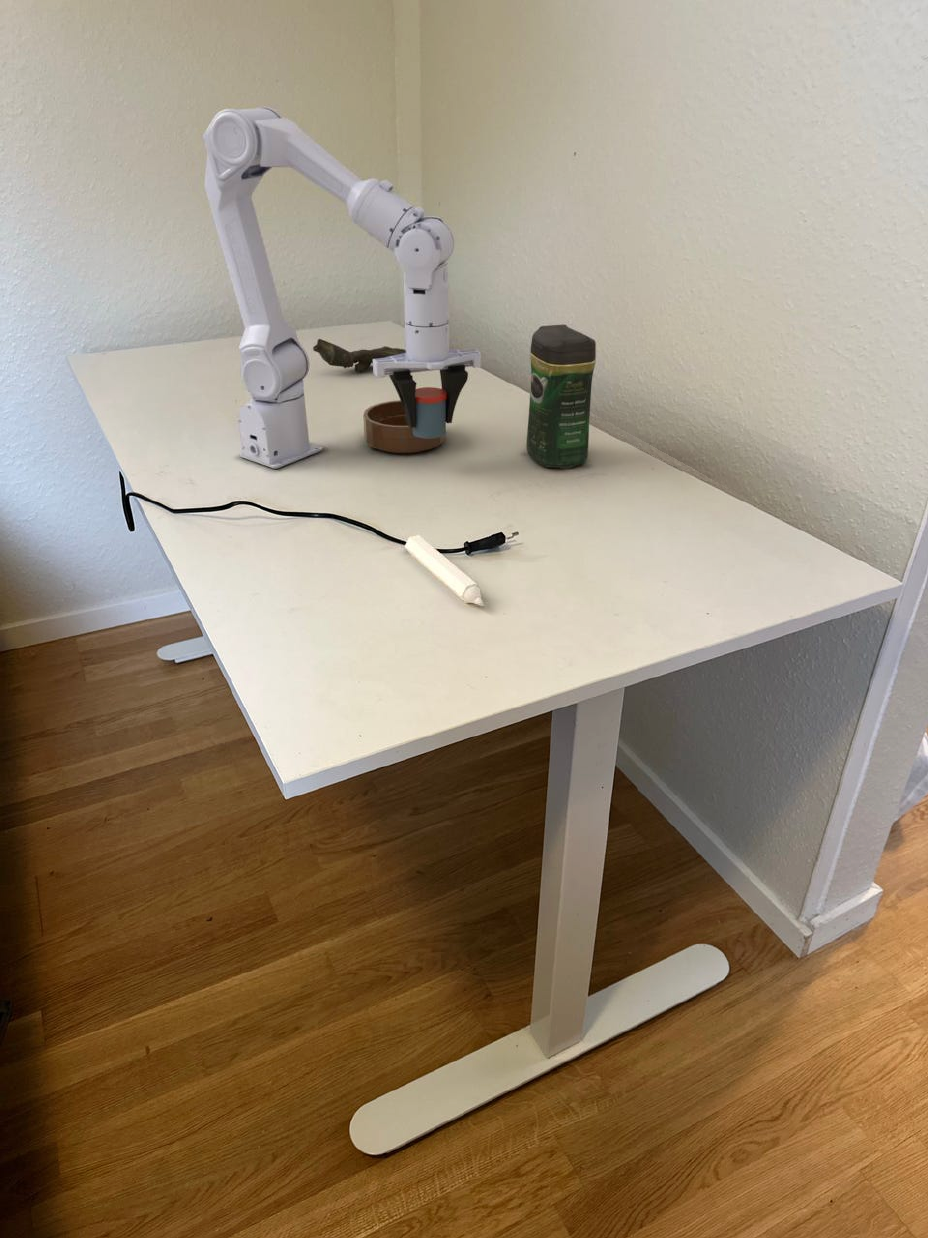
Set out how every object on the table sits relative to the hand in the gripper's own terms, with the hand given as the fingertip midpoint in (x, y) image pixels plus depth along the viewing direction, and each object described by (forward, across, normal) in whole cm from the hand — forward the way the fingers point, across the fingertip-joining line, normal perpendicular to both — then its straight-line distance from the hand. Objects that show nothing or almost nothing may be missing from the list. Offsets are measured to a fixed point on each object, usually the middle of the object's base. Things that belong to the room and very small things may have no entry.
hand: (428, 423), depth 118 cm
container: (+1, 0, 0) cm, 1 cm away
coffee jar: (+7, +19, -2) cm, 20 cm away
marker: (+7, -8, -31) cm, 33 cm away
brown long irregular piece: (+7, +4, +50) cm, 51 cm away
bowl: (+7, 0, +12) cm, 14 cm away
